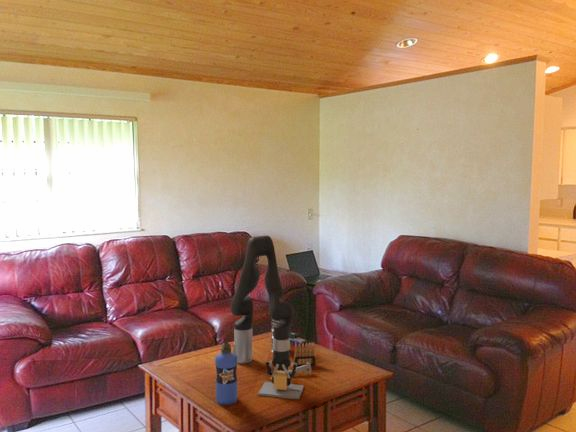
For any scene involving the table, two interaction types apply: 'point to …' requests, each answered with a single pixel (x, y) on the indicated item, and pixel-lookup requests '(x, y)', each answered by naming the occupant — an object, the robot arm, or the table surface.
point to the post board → (281, 391)
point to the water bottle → (226, 376)
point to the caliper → (302, 369)
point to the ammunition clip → (304, 355)
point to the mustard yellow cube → (280, 380)
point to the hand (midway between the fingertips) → (281, 384)
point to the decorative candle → (273, 329)
